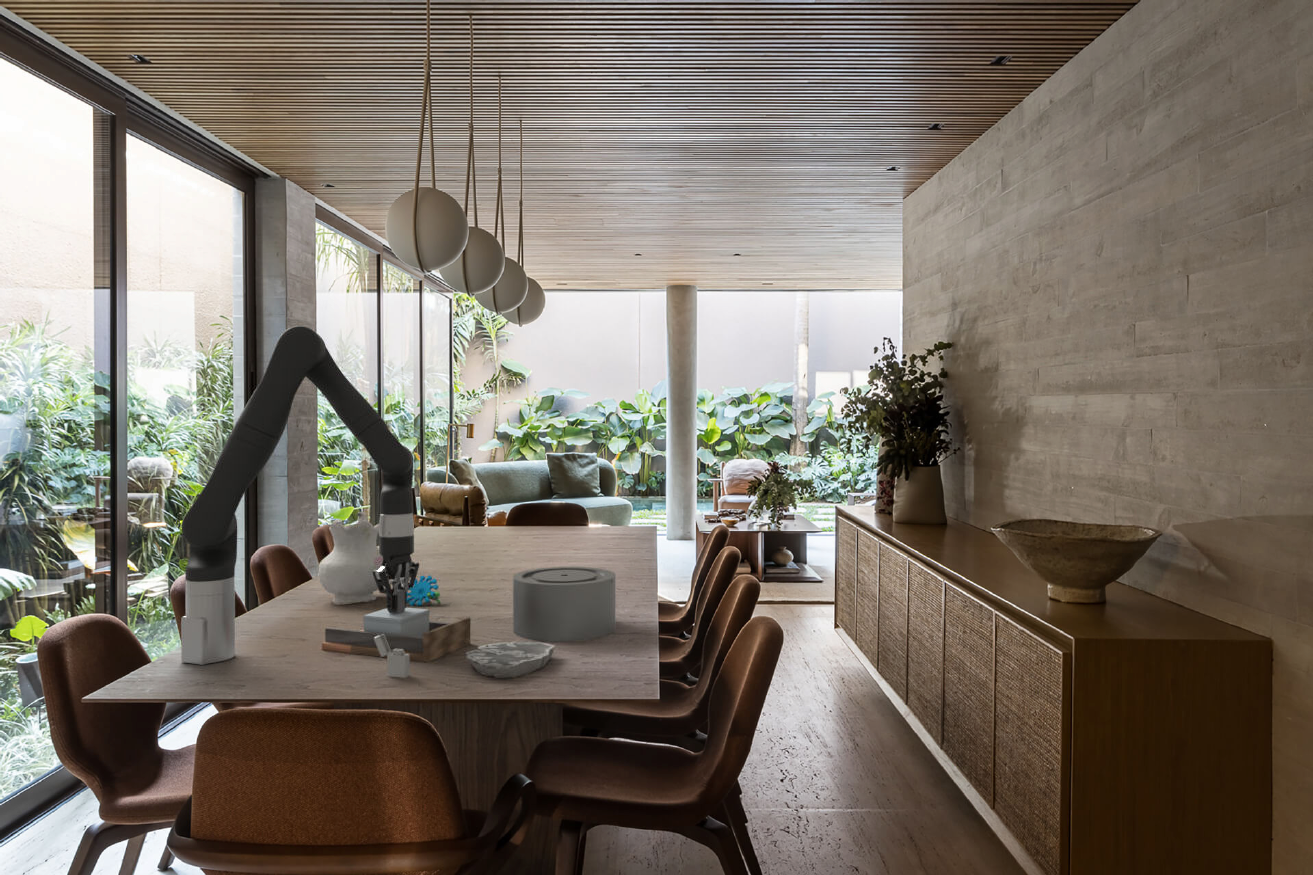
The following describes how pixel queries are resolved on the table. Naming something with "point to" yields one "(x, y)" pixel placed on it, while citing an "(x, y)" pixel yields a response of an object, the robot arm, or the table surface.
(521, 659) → the grey flat stone
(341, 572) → the white scalloped vase
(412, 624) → the block with peg
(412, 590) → the blue spiky round piece
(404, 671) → the lighter
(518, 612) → the container
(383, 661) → the table surface
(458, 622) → the bay
